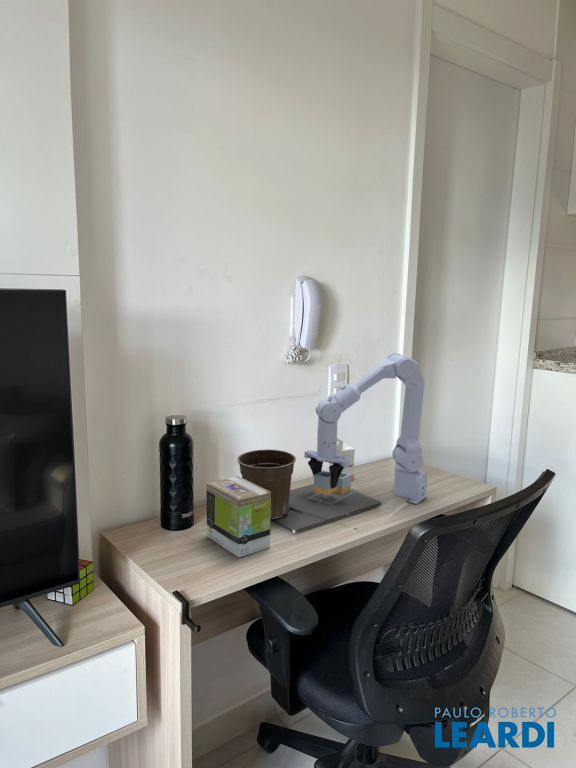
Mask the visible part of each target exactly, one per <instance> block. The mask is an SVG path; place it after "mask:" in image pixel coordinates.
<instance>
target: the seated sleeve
mask: <svg viewBox="0 0 576 768" xmlns="http://www.w3.org/2000/svg"><path fill="white" fill-rule="evenodd" d="M351 485H352V480H351V474H347V473H343V472H341V474H340V476H339V479H338V482H337V490H336V491H334V492H335V493H338V494H344V493H346V492H348V491H349V490H351V489H352V488H351V487H352V486H351Z"/></svg>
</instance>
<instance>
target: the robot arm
mask: <svg viewBox="0 0 576 768" xmlns="http://www.w3.org/2000/svg"><path fill="white" fill-rule="evenodd" d="M397 378H398V379H399V380H400V381H401V382H402V383H403V385H404V386H405V389H404V398H403V407H402V408H403V409H402V417H401V426H400V427H401V428H400V436H399V437H398V438H397V439H396V443H395V446H394V448H393V450H392V454H391V455H392V459H393V461H395V464H394V478H393V479H394V481H393V494H394V495H396V496H397V497H402V498H408V499H407V500H406V502H407V503H411V504H415V505H418V504H419V503H420V502H421V501H423V500H424V499H426V498H427V497H428V495H427V488H428V485H427V484H428V475H427V473H426V472H424V471H421V468H422V467H423V465H424V458H423V455H422V445H421V444H420V443H421V442H420V441H419V438H420V437H419V434H420V428H421V426H420V425H421V417H422V409H423V401H424V399H423V398H424V391H425V390H424V389H425V379H424V376H423V374H422V372H421V370H420V364H419V363H418V362H417V361H416V360H415V359H413V358H412V357H409V356H405V355H401V354H400V353H397V352H395V353H390V354H389V355H388V356H386V357H385V358H383V359H381V360H380V362H379V363H378V364H376V365H375V366H374V367H373V368H371V369H370V371H368V372H367V373H366V374H365V375H363V376H362V377H361V378H360V379H359V380H357V381H356V382H355V383H354V384H351V383H347V384H342V385H341V386H340V389H339V390H338V391H337V392H335V393H334V394H332V395H328V396H327V399H323V400H320V401H319V402H318V404H317V406H316V408H315V414H316V416H317V417H318V420H317V435H316V436H317V438H316V439H317V441H316V442H317V445H316V450H310V449H308V450H305V451H304V455H303V456H304V457H303V458H304V459H308V458H309V459H310V460H308V462H307V465H308V466H309V468H310V471H311V473H312V476H313V477H314V475H315V474H317V473H319V472H321V471H323V464H324V462H325V463H332V464H333V465H331V466H328V468H329V469H328V470H330V475H331V488H332V489H333V488H335V487H336V486H337V482H338V479H339V476H340V474H341V472H342V470H343V469H344V467H345V468H346V467H348V466H349V463H350V460H349V459H345V458H343V457H341V456H338V455H336V452H337V443H338V442H337V438H338V421H339V419H340V417H341V416H342V413H344V412H345V411H346V410H348V409H349V408H350V407H352V406H353V405H354V404H355V403H357V402H358V401H360V400H361V395H362V394H363V393H364V392H366V391H367V390H368V389H370V388H371V387H373V386H374V385H376V384H377V383H379V382H381V381H382V380H384V379H397Z"/></svg>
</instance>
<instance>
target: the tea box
mask: <svg viewBox="0 0 576 768" xmlns="http://www.w3.org/2000/svg"><path fill="white" fill-rule="evenodd" d="M270 517H271V492H270V491H268V490H266V489H264V488H262V487H260V486H258V485H255V484H253V483H251V482H249V481H247V480H245V479H243V478H242V477H240V476H238V475H235V476H232V477H227V478H224V479H223V478H222V479H219V480H214V481H209V482H207V483H206V537H207V538H209V539H210V540H212V541H213V542H215V543H217V544H218V545H219V546H221V547H222V548H224V549H225V550H227V551H228V552H229V553H231V554H232V555H234V556H235V557H237V558H242V557H245V556H249V555H252V554H255V553H258V552H261V551H263V550H267V549H269V548H270V547H271V520H270Z"/></svg>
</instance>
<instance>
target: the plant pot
mask: <svg viewBox="0 0 576 768" xmlns="http://www.w3.org/2000/svg"><path fill="white" fill-rule="evenodd" d="M296 460H297V458H296V456H295V455H294V454H293V453H291V452H289V451H285V450H279V449H256V450H250V451H247V452H244V453H242V454H240V455H238V457H237V463H238V464H239V473H240V474H241V478H243V479H245V480H247V481H249V482H251V483H253V484H255V485H258V486H260V487H262V488H264V489H266V490H268V491H270V492H271V517H270V521H272V520H271V519H272V518H275V517H280V516H283V517H284V516H286V515H285V514H286V513H287V512H289V506H290V496H291V495H290V491H291V484H292V477H293V476H292V475H293V473H294V466H295V463H296ZM287 514H288V513H287Z"/></svg>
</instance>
